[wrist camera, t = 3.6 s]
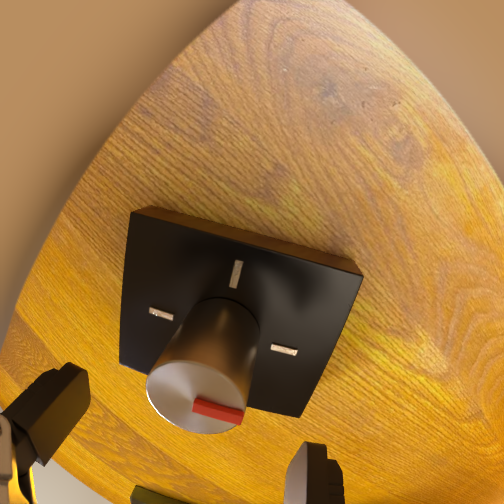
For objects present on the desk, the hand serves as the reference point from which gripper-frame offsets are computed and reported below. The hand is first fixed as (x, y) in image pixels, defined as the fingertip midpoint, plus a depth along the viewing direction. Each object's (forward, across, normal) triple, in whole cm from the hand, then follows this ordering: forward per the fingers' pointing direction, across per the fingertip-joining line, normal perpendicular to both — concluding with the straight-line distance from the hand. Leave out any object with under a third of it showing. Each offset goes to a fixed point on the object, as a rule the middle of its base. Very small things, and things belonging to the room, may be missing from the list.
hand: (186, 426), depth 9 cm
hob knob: (+7, 0, 0) cm, 7 cm away
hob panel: (+10, 0, 0) cm, 10 cm away
